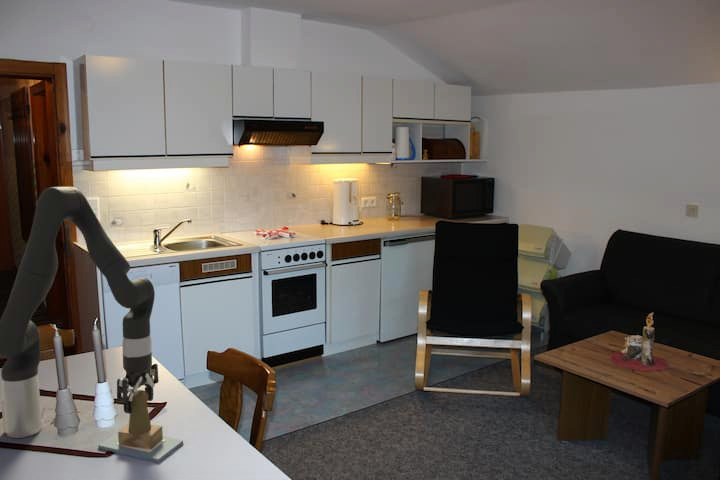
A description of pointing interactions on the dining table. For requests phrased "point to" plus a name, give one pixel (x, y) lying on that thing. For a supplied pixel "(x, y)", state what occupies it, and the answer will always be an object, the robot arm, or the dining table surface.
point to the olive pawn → (139, 414)
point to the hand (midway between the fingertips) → (139, 406)
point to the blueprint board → (155, 454)
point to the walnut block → (141, 437)
